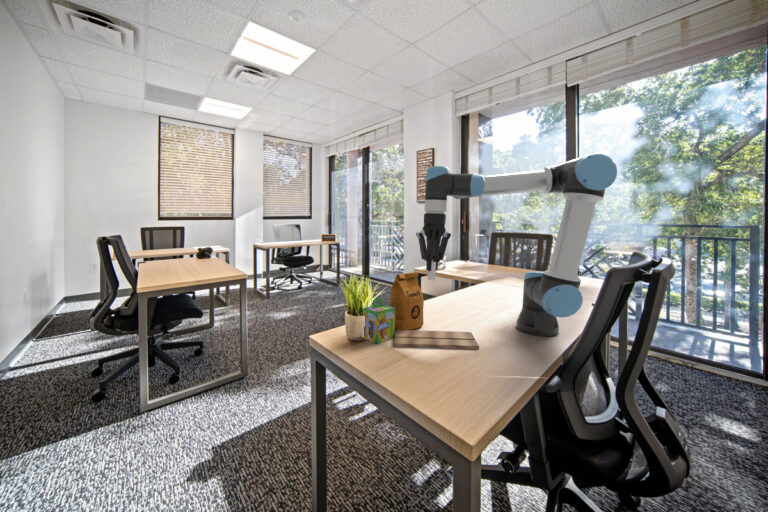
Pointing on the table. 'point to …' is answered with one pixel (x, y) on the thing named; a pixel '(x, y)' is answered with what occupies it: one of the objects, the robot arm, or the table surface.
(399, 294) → the coffee package
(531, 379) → the table surface
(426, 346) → the wooden board
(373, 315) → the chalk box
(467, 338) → the plank
